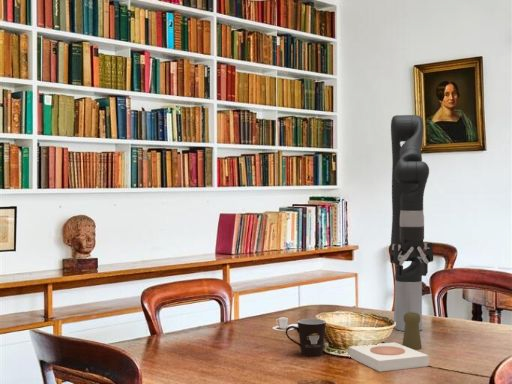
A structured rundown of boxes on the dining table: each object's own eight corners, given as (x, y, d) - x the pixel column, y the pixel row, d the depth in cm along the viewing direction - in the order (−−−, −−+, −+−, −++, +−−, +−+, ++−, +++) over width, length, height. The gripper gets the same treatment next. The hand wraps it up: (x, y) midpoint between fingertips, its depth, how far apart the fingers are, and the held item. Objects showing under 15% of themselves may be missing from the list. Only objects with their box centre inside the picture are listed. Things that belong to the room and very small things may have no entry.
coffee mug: (328, 351, 225) (328, 319, 225) (322, 358, 217) (322, 325, 217) (292, 349, 229) (292, 317, 229) (284, 355, 221) (284, 322, 221)
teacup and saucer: (300, 328, 261) (300, 317, 261) (289, 333, 254) (289, 321, 254) (279, 326, 266) (279, 315, 266) (268, 330, 259) (268, 318, 259)
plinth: (348, 356, 219) (348, 345, 219) (394, 351, 225) (394, 341, 225) (379, 371, 202) (379, 359, 202) (428, 366, 208) (428, 354, 208)
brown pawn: (421, 350, 227) (422, 314, 226) (402, 349, 228) (402, 314, 228) (421, 345, 233) (421, 311, 232) (402, 345, 234) (402, 310, 234)
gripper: (424, 223, 235) (424, 273, 236) (385, 224, 230) (386, 276, 231) (438, 225, 228) (438, 276, 229) (398, 226, 223) (398, 279, 224)
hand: (411, 276), depth 230 cm, fingers open, 8 cm apart
